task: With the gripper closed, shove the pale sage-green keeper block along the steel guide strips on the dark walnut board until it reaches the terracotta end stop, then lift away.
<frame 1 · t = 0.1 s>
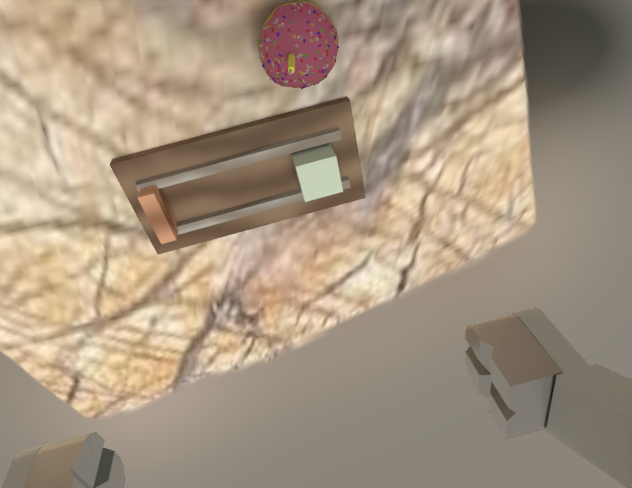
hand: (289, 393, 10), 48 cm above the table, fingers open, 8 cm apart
guide board: (246, 177, 58), on the table
cupcake: (292, 38, 50), on the table
keeper: (316, 171, 56), point 4 cm above the table, slide at 0.0 cm, touching guide board
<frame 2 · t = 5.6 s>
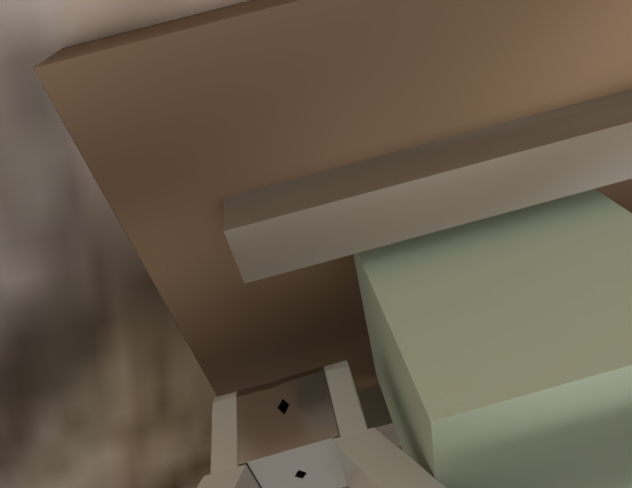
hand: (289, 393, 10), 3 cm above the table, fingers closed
keeper: (510, 358, 9), point 4 cm above the table, slide at 0.7 cm, touching gripper, guide board
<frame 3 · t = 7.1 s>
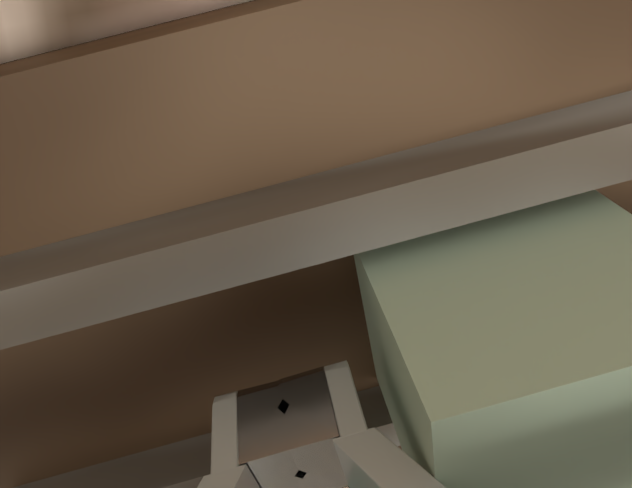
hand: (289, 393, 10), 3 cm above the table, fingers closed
guide board: (434, 255, 12), on the table
keeper: (510, 359, 9), point 4 cm above the table, slide at 9.1 cm, touching gripper, guide board
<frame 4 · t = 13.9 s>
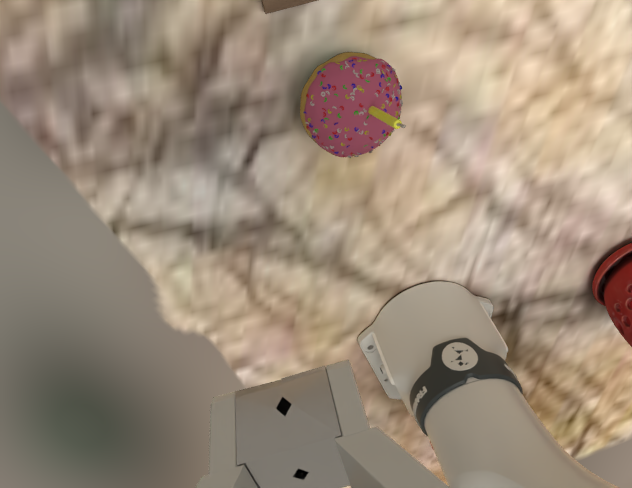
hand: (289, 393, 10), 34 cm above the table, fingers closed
plant pot: (623, 268, 61), on the table
cupcake: (339, 92, 41), on the table
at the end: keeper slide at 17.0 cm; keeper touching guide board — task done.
